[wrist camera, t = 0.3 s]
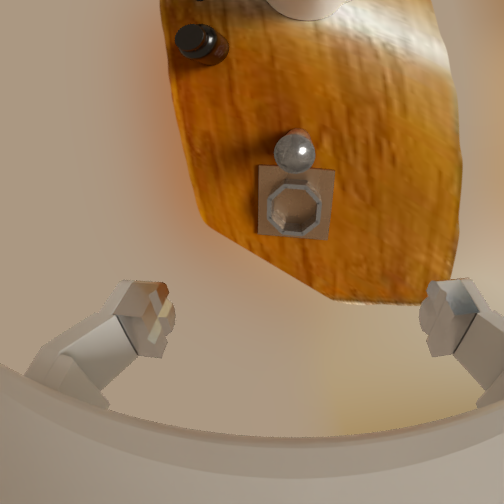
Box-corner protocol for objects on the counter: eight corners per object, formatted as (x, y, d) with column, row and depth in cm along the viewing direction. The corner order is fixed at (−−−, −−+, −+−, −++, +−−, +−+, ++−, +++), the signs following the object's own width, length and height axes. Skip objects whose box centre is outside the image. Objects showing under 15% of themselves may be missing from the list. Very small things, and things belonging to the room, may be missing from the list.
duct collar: (259, 164, 52) (255, 169, 47) (334, 169, 50) (337, 175, 45) (258, 231, 58) (254, 242, 54) (327, 237, 56) (328, 249, 52)
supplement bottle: (193, 65, 44) (164, 56, 34) (198, 34, 41) (171, 18, 30) (227, 67, 44) (205, 56, 33) (233, 35, 40) (213, 17, 30)
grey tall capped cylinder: (284, 126, 48) (274, 133, 32) (312, 128, 47) (316, 135, 31) (284, 152, 50) (273, 172, 34) (311, 154, 49) (313, 175, 34)
